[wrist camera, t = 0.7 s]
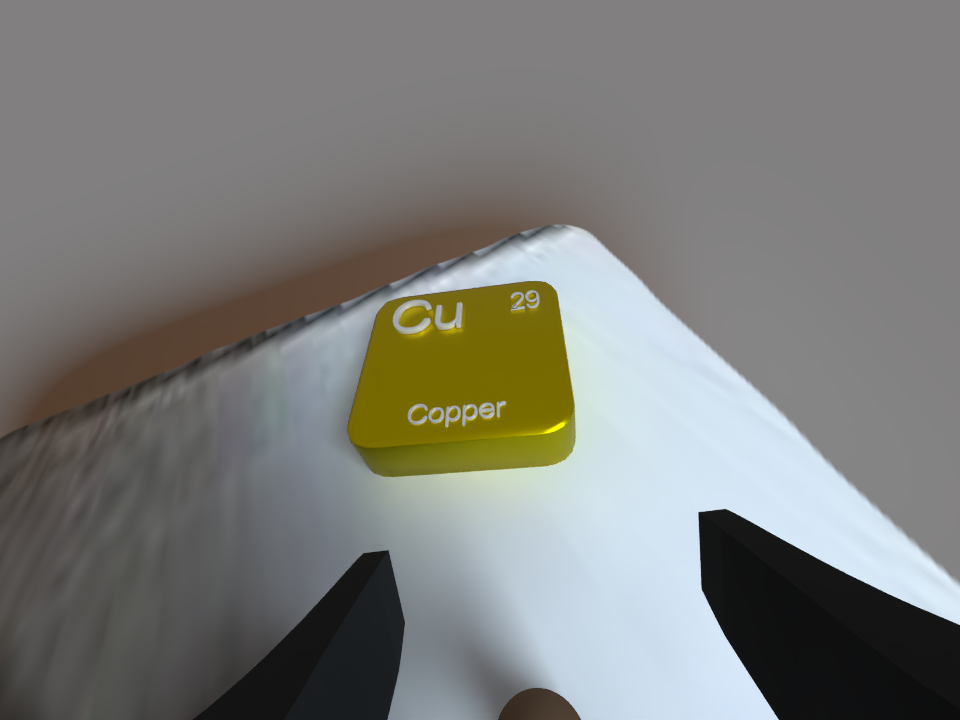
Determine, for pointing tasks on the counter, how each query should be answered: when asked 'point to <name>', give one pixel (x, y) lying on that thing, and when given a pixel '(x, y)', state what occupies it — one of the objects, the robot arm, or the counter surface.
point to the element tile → (465, 383)
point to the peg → (538, 706)
